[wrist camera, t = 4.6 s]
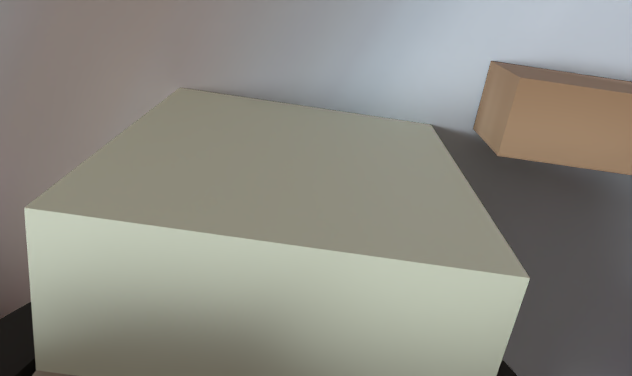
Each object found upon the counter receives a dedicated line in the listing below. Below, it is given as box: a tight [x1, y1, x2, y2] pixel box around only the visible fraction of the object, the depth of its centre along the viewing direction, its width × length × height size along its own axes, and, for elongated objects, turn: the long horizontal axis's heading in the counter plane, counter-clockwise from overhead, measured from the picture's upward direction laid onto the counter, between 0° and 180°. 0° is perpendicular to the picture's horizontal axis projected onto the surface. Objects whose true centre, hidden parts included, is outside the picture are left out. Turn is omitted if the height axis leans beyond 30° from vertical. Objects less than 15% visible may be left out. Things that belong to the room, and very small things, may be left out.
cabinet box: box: [24, 88, 530, 376], centre depth 8 cm, size 6×4×6 cm
